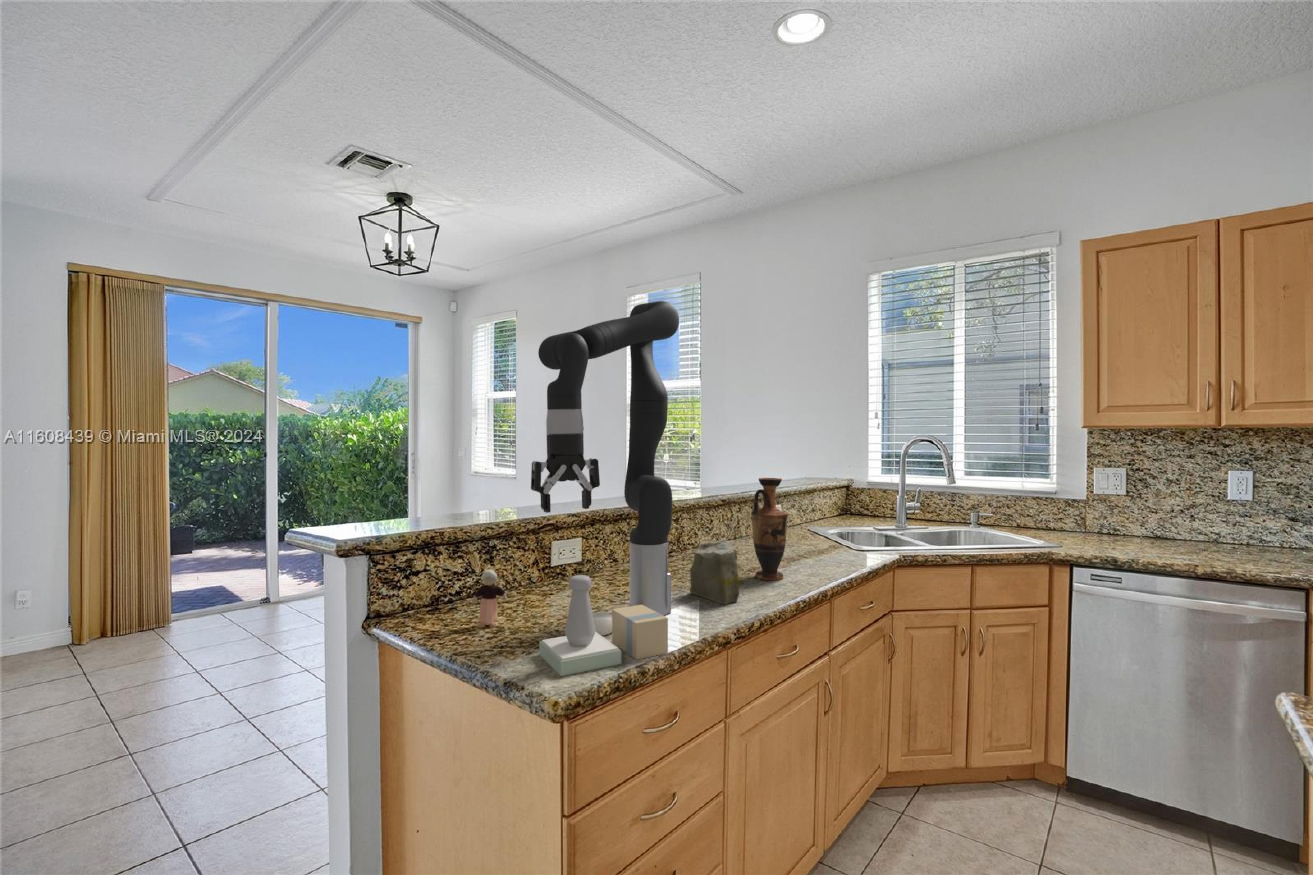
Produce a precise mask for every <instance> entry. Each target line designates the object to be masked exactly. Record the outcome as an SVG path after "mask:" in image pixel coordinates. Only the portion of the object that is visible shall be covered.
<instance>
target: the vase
mask: <svg viewBox="0 0 1313 875" xmlns="http://www.w3.org/2000/svg"><path fill="white" fill-rule="evenodd" d="M782 480H783V479H782V478H777V477H759V478H758V481H759V482H758V483H759V484H760V485H761V486H762V489H757V491H756V492H755V493H754V494H755V495H754V497H753V509H752V511H751V513H750V514H751V524H752V525H751V526H752V529H751V530H752V540H753V548H754V551H755V555H756V557H757V560H758V562H759V565H760V568H761V570H758V571H756V572H755V574H754V577H755V579H759V580H763V581H780V580H782V579H784V573H782V572H781V571H778V569H779V566H780V564H781V561H782V559H783V557H784V553H785V551H786V550H785V548H786V542H787V533H788V532H787V530H788V527H787V526H788V517H789V513H788V512H786V511H782V510H780V509H779V508H778V507H777V505H776V490H777V488H778V487H780V485H781V482H782ZM760 494H761V495H762V497H763V505H762V508H760V505H759V496H760Z"/></svg>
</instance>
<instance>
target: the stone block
mask: <svg viewBox="0 0 1313 875" xmlns="http://www.w3.org/2000/svg"><path fill="white" fill-rule="evenodd" d="M737 552H738V551H737V549H735V547H734V546H733V545H732V544H731V543H729V542H728V541H727V539H725V538H724V539H721V540H717V541H711V542H705V543H701V544H700V546H699V547H698V549H697V550H696V551H695V552H694V556H693V558H694V559H693V562H692V564H691V567H690V572H689V573H690V575H689V576H690V578H689V579H690V587H689V592H690V594H693V595H696V596H699V597H702V598H704V599H707V600H711V601H714V602H717V603H719V604H723V605H729V604H730V603H734V602H737V601H738V599H739V596H740V588H739V574H738V573H739V572H738V561H737V560H738V553H737Z"/></svg>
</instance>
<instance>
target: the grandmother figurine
mask: <svg viewBox="0 0 1313 875" xmlns="http://www.w3.org/2000/svg"><path fill="white" fill-rule="evenodd" d="M497 579H498V574H497V573H496V572H495V571H494V570H492V569H486V570H484V571H483V573H482V580H483V585H481V586H479V588H478V589H477V590H476V592H475V593H474V596H473V599H472V600H471V603H472V604H476V603H477V601H478V600H479V598H480V597H481V599H480V606H479V620H478V624H477V625H476V628H478V629H479V628H485V627H487V625H488V627H489V628H497V627H498V623H497V620H498V609H499V608H498V598H497V596H499V597H501V598H502V600H503V602H506V601H508V596H507V595H506V591H505V590H504V589H503V588H502V587H501V586H498V585H496V584H495V583H496V580H497Z"/></svg>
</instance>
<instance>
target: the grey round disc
mask: <svg viewBox="0 0 1313 875" xmlns="http://www.w3.org/2000/svg"><path fill="white" fill-rule="evenodd" d="M592 614H593V620H594V626H595V631H596V632H597V633H598V634H600V635H601V636H606V635H609V634H612V613H609V612H598V613H597V612H596V613H592Z"/></svg>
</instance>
